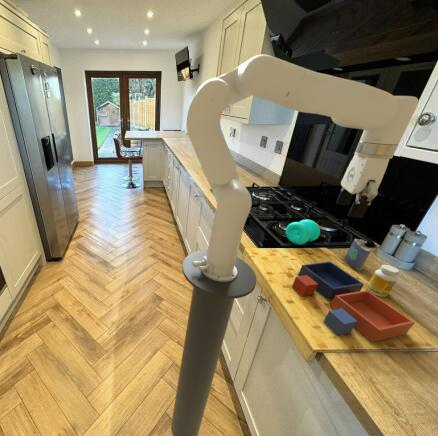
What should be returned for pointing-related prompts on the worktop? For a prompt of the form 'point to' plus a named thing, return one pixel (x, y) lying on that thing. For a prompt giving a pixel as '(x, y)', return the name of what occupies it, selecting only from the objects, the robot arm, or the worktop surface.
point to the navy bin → (331, 279)
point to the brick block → (304, 285)
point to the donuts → (302, 231)
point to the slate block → (340, 321)
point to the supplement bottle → (383, 280)
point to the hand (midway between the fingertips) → (348, 210)
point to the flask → (357, 254)
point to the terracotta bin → (372, 315)
